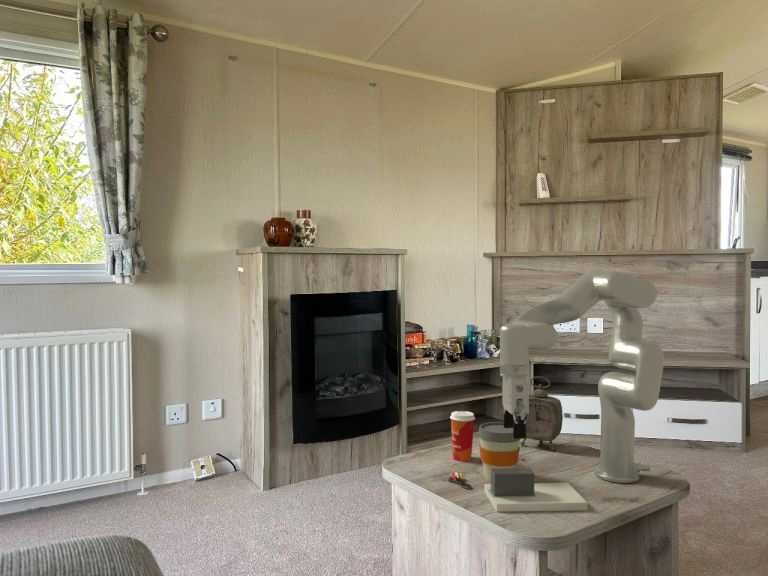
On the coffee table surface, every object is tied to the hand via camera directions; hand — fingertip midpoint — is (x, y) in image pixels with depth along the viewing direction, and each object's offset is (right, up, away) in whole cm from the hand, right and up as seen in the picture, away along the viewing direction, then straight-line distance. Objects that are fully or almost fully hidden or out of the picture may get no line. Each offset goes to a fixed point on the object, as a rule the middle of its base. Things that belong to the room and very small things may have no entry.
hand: (514, 432), depth 158 cm
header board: (+5, -19, +1) cm, 19 cm away
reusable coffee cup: (-1, -18, +19) cm, 26 cm away
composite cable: (-13, -19, +13) cm, 26 cm away
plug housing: (-1, -16, 0) cm, 16 cm away
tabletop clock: (+20, -17, +49) cm, 55 cm away
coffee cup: (-9, -17, +35) cm, 40 cm away
